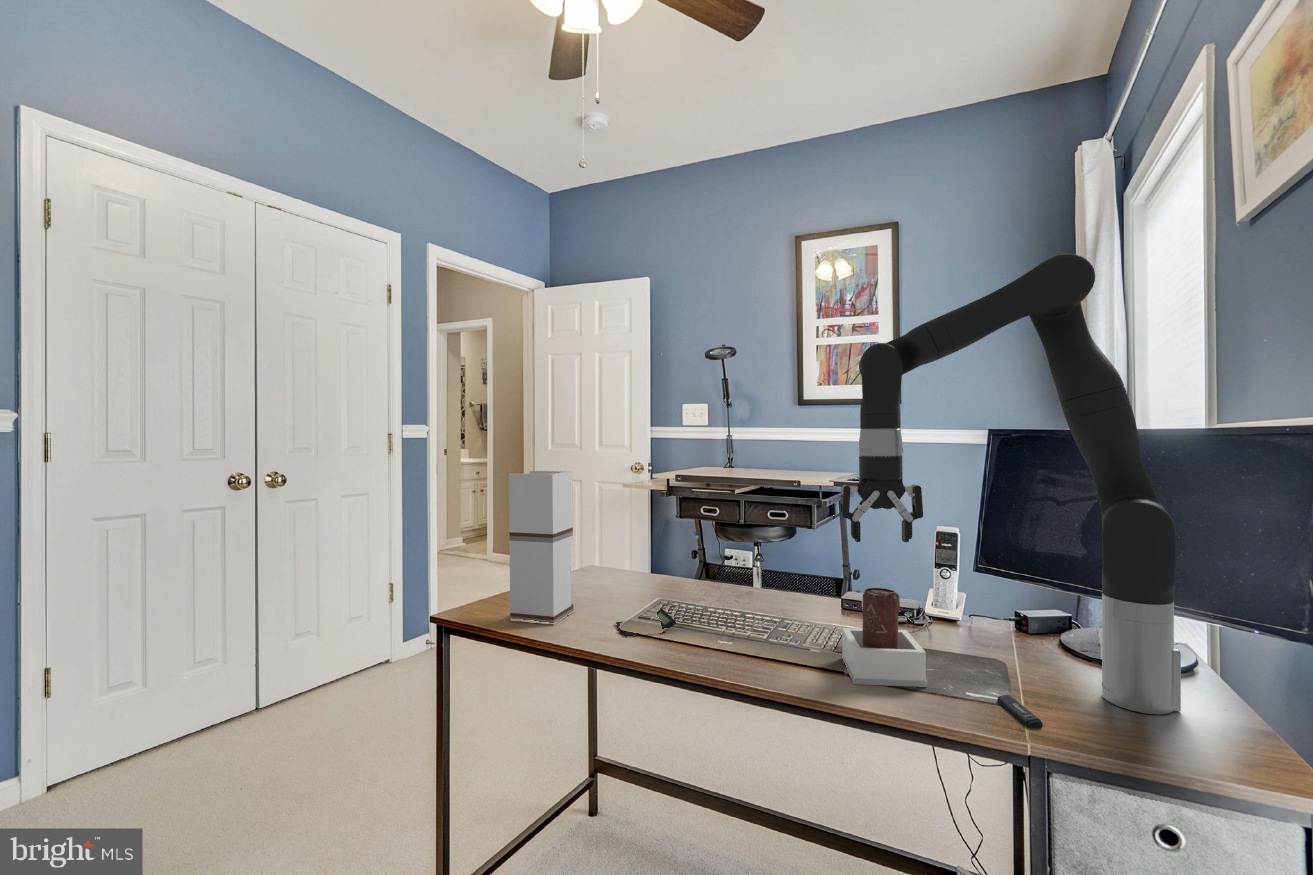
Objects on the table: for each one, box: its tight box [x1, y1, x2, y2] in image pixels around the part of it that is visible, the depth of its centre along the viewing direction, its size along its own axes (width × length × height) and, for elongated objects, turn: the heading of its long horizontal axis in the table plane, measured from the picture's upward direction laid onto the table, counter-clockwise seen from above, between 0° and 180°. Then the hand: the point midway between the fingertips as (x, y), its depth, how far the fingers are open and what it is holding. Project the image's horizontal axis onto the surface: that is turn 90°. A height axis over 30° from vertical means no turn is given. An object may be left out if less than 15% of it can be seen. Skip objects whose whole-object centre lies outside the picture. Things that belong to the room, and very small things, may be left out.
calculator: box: [615, 608, 677, 637], centre depth 141 cm, size 9×12×3 cm
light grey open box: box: [841, 627, 928, 688], centre depth 114 cm, size 12×12×6 cm
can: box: [862, 587, 901, 649], centre depth 114 cm, size 6×6×14 cm
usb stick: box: [997, 694, 1043, 729], centre depth 97 cm, size 10×3×2 cm, turn 177°
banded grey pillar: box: [508, 470, 574, 623], centre depth 150 cm, size 11×11×35 cm
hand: (881, 541), depth 114 cm, fingers open, 8 cm apart
